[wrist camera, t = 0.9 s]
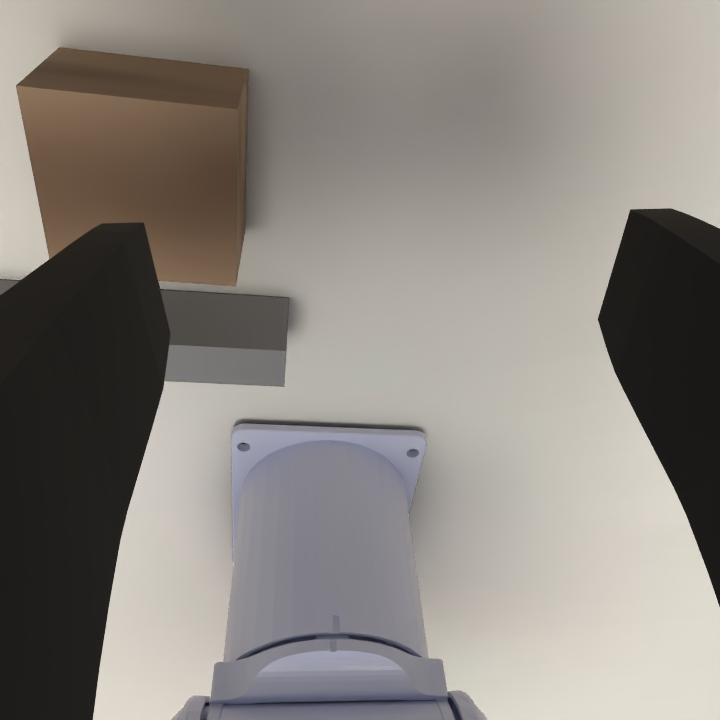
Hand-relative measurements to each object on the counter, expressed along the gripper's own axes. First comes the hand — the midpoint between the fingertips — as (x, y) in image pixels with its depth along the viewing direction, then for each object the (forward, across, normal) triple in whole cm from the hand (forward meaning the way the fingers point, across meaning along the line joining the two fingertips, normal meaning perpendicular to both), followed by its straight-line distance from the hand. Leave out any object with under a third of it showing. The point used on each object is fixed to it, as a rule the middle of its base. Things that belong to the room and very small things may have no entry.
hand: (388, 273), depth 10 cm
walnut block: (+11, +6, +2) cm, 12 cm away
